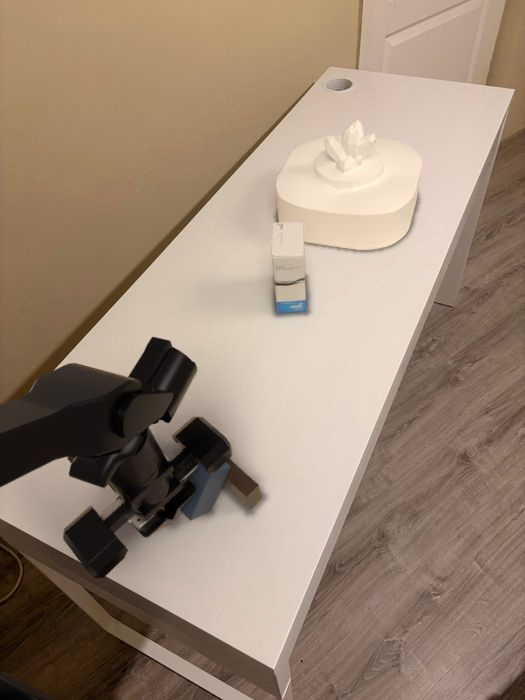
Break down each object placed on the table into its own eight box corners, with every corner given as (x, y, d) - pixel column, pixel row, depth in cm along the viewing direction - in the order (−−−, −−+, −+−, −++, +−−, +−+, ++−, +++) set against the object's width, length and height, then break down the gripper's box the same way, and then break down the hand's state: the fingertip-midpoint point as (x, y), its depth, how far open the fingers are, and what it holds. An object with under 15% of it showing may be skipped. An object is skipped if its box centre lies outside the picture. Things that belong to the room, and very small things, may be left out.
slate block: (193, 527, 59) (180, 502, 53) (167, 500, 62) (153, 473, 56) (236, 486, 62) (228, 457, 56) (210, 461, 65) (200, 432, 59)
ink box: (307, 312, 80) (305, 256, 70) (276, 314, 80) (270, 257, 71) (305, 276, 85) (303, 219, 76) (276, 278, 85) (271, 221, 76)
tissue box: (303, 164, 107) (301, 87, 95) (422, 177, 100) (436, 95, 88) (266, 236, 93) (257, 156, 80) (401, 256, 86) (415, 172, 73)
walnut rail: (250, 510, 60) (246, 496, 57) (187, 450, 66) (180, 435, 63) (261, 498, 61) (258, 484, 58) (198, 440, 67) (192, 425, 64)
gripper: (156, 357, 55) (186, 428, 67) (5, 475, 47) (69, 530, 60) (224, 414, 49) (243, 480, 62) (64, 557, 42) (122, 599, 54)
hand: (170, 518), depth 59 cm, fingers closed
